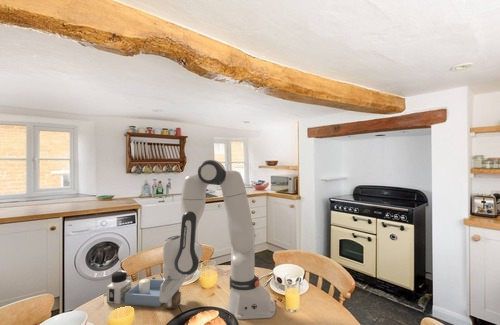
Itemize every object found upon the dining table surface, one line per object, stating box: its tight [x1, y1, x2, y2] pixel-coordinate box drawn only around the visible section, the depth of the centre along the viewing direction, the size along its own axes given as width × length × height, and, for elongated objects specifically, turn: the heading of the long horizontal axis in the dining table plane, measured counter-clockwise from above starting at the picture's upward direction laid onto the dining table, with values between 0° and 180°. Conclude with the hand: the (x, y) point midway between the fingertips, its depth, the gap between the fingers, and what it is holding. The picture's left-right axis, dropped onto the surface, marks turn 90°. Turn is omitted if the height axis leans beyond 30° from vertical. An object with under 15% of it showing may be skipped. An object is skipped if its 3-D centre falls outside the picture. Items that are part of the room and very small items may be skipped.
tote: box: [124, 278, 165, 308], centre depth 121 cm, size 18×16×5 cm
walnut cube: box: [165, 291, 182, 309], centre depth 112 cm, size 5×5×5 cm
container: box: [106, 270, 132, 305], centre depth 119 cm, size 8×8×13 cm
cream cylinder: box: [138, 278, 151, 295], centre depth 121 cm, size 5×5×7 cm
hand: (173, 301), depth 113 cm, fingers closed on walnut cube, 5 cm apart
